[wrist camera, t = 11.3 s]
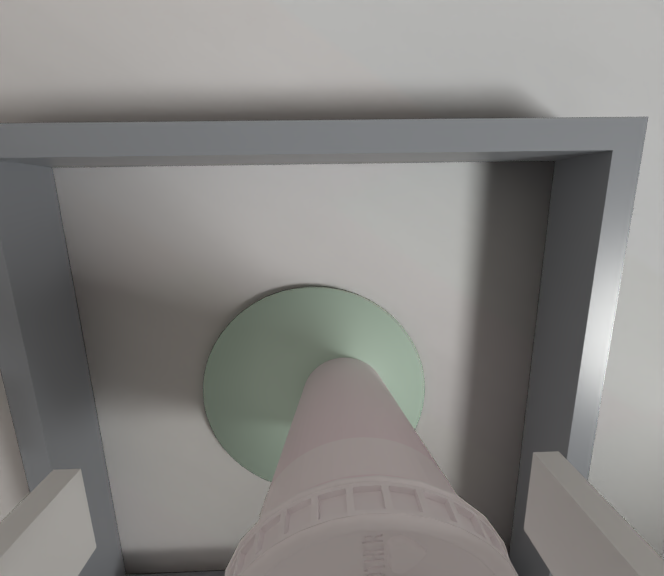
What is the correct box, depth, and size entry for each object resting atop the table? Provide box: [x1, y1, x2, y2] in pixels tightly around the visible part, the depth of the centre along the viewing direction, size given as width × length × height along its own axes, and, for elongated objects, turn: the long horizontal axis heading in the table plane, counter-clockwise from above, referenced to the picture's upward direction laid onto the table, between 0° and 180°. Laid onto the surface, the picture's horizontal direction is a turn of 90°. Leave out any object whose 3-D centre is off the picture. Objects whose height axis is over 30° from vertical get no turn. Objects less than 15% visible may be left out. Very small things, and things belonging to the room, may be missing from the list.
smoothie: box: [225, 357, 518, 576], centre depth 10 cm, size 6×6×14 cm
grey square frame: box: [0, 117, 648, 576], centre depth 15 cm, size 22×22×3 cm
